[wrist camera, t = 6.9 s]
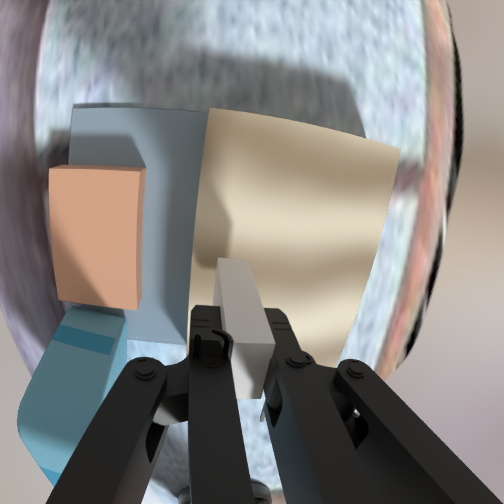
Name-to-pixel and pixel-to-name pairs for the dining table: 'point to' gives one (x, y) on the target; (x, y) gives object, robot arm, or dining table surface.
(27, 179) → the dining table surface
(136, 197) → the salmon orange flat block
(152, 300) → the mat
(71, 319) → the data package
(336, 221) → the plate
